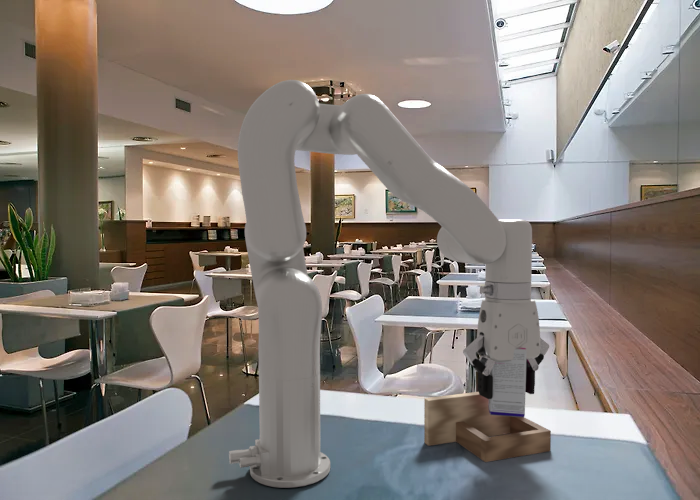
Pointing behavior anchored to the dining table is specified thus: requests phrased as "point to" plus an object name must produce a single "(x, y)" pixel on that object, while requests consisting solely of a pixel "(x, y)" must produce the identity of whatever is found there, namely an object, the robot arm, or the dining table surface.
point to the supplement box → (509, 386)
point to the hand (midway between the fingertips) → (506, 393)
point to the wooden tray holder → (481, 428)
